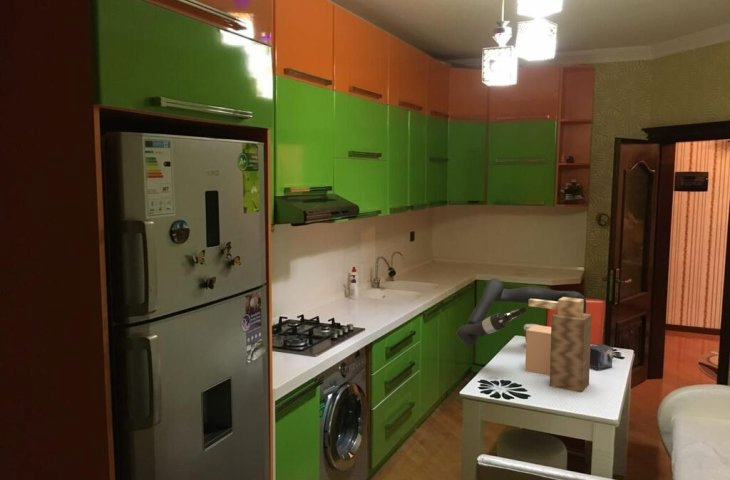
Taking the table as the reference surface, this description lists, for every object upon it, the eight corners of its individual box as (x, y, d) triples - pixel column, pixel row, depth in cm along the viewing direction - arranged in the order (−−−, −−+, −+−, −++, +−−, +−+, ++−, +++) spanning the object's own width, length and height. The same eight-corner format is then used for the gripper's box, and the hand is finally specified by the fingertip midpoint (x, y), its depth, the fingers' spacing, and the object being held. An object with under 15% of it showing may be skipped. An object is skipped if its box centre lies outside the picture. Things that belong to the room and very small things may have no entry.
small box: (597, 371, 275) (598, 350, 274) (586, 367, 281) (587, 346, 280) (612, 368, 280) (613, 347, 279) (601, 364, 286) (602, 343, 285)
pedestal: (525, 370, 277) (526, 330, 275) (533, 363, 287) (534, 324, 285) (554, 376, 269) (555, 334, 267) (561, 369, 279) (563, 328, 277)
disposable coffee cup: (526, 343, 321) (527, 322, 320) (543, 346, 316) (544, 325, 314) (520, 348, 313) (521, 326, 312) (537, 351, 308) (538, 329, 307)
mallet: (526, 311, 262) (527, 296, 261) (531, 308, 268) (532, 293, 267) (579, 317, 249) (579, 302, 248) (583, 314, 254) (583, 299, 254)
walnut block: (549, 386, 256) (551, 315, 253) (557, 378, 266) (559, 310, 263) (581, 392, 249) (584, 320, 245) (588, 384, 258) (591, 314, 255)
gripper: (484, 319, 270) (513, 305, 261) (496, 313, 282) (524, 300, 273) (492, 334, 269) (521, 321, 260) (503, 327, 280) (532, 314, 271)
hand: (523, 310), depth 266 cm, fingers open, 8 cm apart
